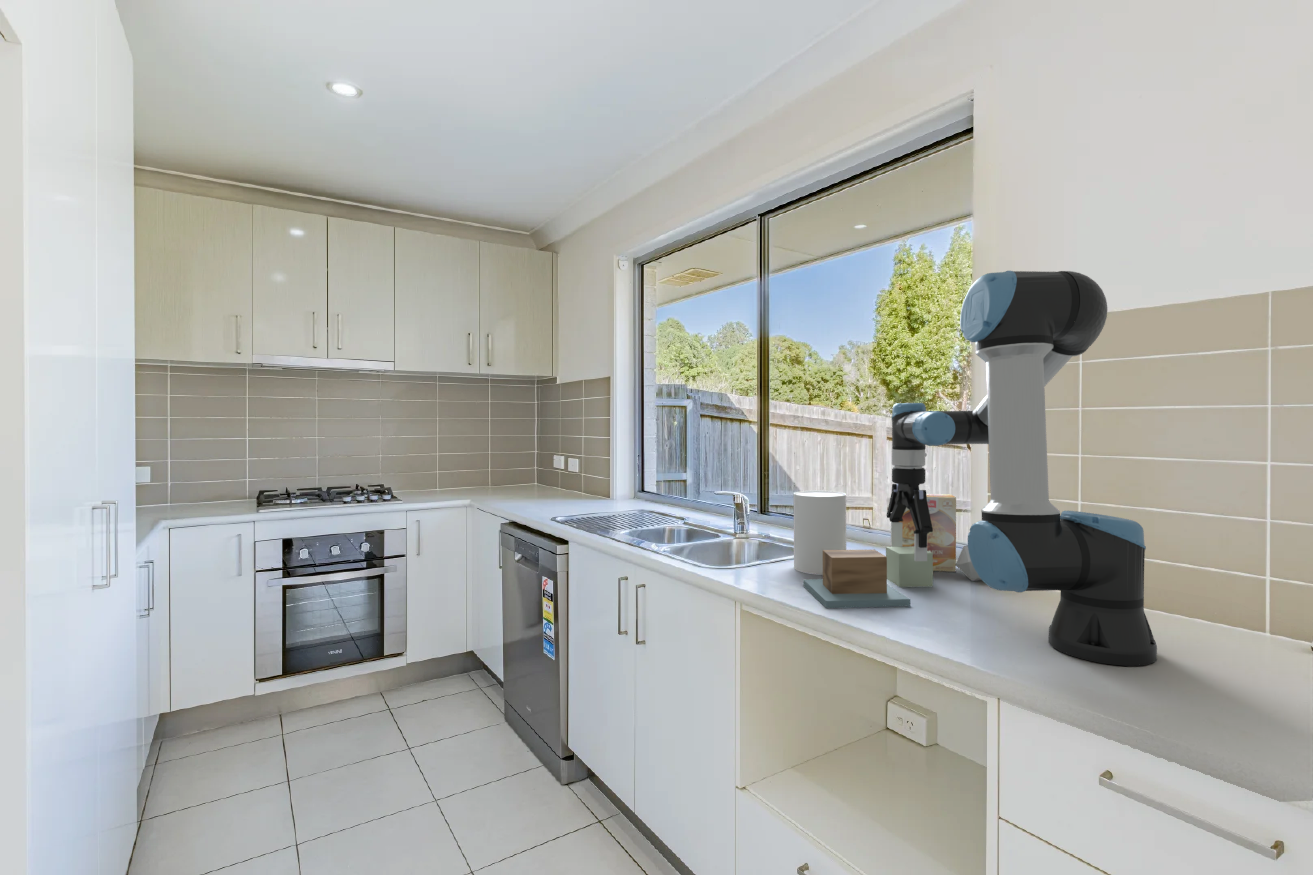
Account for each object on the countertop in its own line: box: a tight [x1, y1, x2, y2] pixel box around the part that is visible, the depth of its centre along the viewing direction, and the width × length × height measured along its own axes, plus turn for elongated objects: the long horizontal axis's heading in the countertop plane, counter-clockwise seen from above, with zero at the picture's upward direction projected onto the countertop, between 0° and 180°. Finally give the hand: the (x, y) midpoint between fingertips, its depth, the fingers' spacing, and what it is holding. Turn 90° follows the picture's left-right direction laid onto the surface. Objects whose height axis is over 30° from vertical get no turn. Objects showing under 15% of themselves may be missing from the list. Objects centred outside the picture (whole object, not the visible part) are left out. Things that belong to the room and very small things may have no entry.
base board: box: [802, 578, 911, 609], centre depth 143 cm, size 18×18×2 cm
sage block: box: [885, 546, 934, 588], centre depth 154 cm, size 8×8×8 cm
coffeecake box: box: [900, 493, 957, 573], centre depth 168 cm, size 15×7×20 cm, turn 77°
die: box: [956, 545, 982, 582], centre depth 156 cm, size 8×9×10 cm
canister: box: [793, 490, 847, 576], centre depth 169 cm, size 14×14×20 cm
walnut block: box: [822, 548, 888, 594], centre depth 143 cm, size 8×12×8 cm, turn 90°
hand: (908, 554), depth 154 cm, fingers open, 13 cm apart
